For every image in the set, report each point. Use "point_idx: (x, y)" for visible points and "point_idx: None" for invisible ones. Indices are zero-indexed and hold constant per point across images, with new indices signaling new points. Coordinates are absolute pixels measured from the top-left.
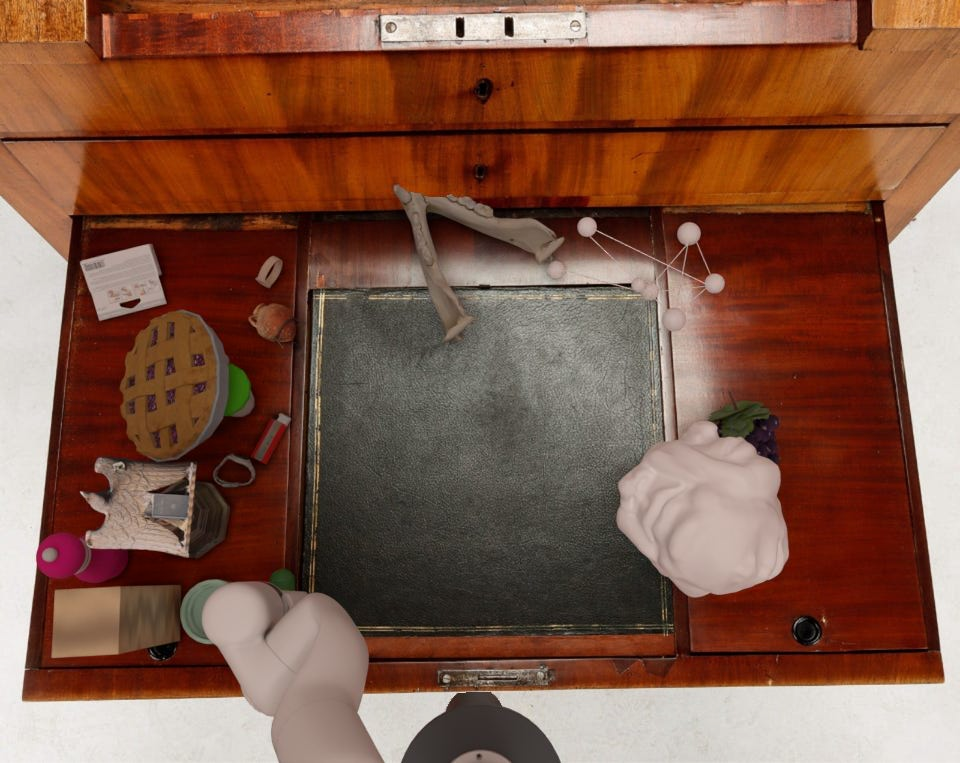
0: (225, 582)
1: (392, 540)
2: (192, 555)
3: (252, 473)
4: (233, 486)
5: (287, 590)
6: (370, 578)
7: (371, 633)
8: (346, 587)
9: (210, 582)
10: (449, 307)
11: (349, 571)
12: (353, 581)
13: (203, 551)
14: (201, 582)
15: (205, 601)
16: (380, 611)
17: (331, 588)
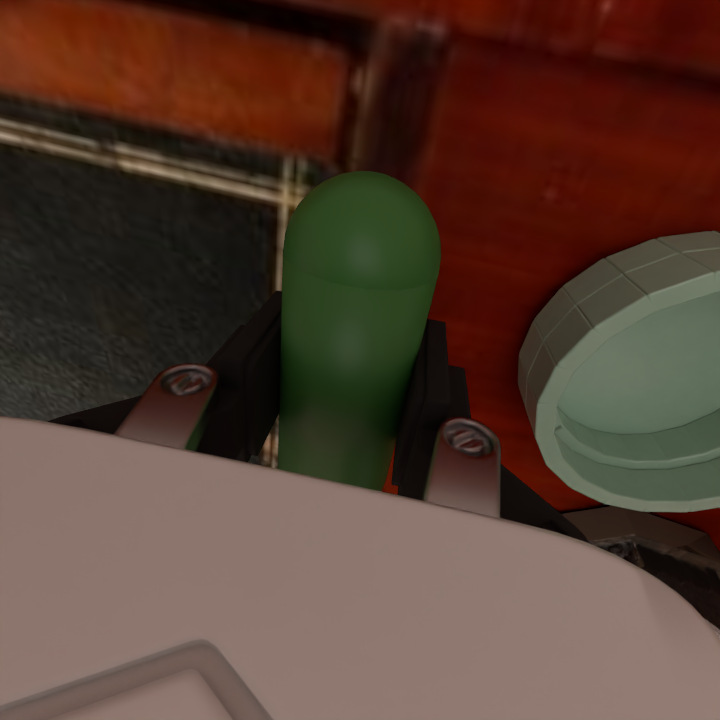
0: (574, 487)
1: (53, 399)
2: (643, 541)
3: None
4: None
5: (291, 462)
6: (89, 321)
7: (31, 113)
8: (162, 314)
9: (635, 503)
10: None
11: (160, 356)
12: (142, 326)
13: (601, 541)
14: (671, 511)
15: (678, 400)
16: (23, 202)
17: (213, 323)
